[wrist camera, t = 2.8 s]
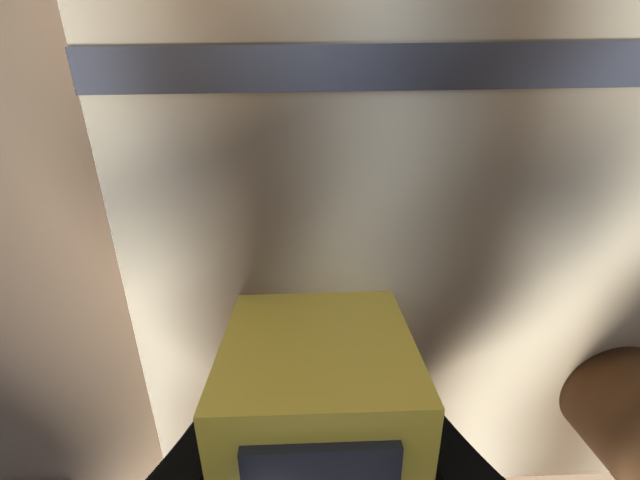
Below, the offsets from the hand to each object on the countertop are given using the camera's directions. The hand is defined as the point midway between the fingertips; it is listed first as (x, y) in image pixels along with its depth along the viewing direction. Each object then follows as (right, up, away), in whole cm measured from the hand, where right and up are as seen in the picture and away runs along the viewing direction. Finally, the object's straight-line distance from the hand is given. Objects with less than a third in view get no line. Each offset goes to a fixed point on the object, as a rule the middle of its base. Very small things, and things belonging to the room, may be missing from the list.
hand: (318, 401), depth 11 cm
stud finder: (0, 0, +1) cm, 1 cm away
